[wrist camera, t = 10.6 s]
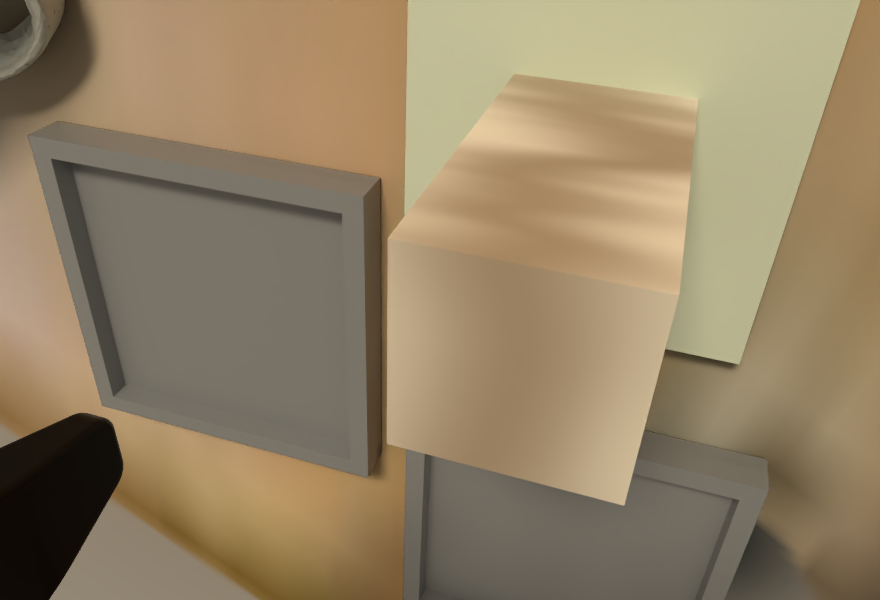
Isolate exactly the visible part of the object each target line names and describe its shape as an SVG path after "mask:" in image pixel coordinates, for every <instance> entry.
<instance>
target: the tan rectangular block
mask: <svg viewBox="0 0 880 600" xmlns="http://www.w3.org/2000/svg"><path fill="white" fill-rule="evenodd" d="M698 100H699V99H694V98H687V97H680V96H672V95H665V94H658V93H651V92H644V91H636V90H629V89H622V88H615V87H607V86H600V85H593V84H586V83H579V82H571V81H564V80H557V79H550V78H542V77H535V76H528V75H521V74H514V75H513V76H512V78H511V79H510V80H509V81H508V83H507V84H506V85H505V87H504V88H503V89H502V91H501V92H500V93H499V94H498V96H497V97H496V98H495V100H494V101H493V102H492V104H491V105H490V106H489V107H488V109H487V110H486V111H485V113H484V114H483V115H482V117H481V118H480V119H479V120H478V122H477V123H476V124H475V126H474V127H473V128H472V130H471V131H470V132H469V133H468V135H467V136H466V137H465V139H464V140H463V141H462V142H461V144H460V145H459V146H458V148H457V149H456V150H455V152H454V153H453V154H452V155H451V157H450V158H449V159H448V161H447V162H446V163H445V165H444V166H443V167H442V168H441V170H440V171H439V172H438V174H437V175H436V176H435V178H434V179H433V180H432V181H431V183H430V184H429V185H428V187H427V188H426V189H425V191H424V192H423V193H422V194H421V196H420V197H419V198H418V200H417V201H416V202H415V204H414V205H413V206H412V207H411V209H410V210H409V211H408V213H407V214H406V215H405V217H404V218H403V219H402V220H401V222H400V223H399V224H398V226H397V227H396V228H395V230H394V231H393V232H392V233H391V235H390V236H389V237H388V299H387V444H389V445H393V446H397V447H401V448H405V449H409V450H412V451H416V452H420V453H424V454H428V455H432V456H435V457H439V458H443V459H447V460H451V461H455V462H458V463H462V464H466V465H470V466H474V467H478V468H481V469H485V470H489V471H493V472H497V473H501V474H505V475H508V476H512V477H516V478H520V479H524V480H528V481H531V482H535V483H539V484H543V485H547V486H551V487H554V488H558V489H562V490H566V491H570V492H574V493H577V494H581V495H585V496H589V497H593V498H597V499H600V500H604V501H608V502H612V503H616V504H620V505H623V506H624V505H625V501H626V497H627V493H628V489H629V486H630V482H631V478H632V474H633V470H634V466H635V463H636V459H637V455H638V451H639V447H640V444H641V440H642V436H643V432H644V428H645V424H646V421H647V417H648V413H649V409H650V405H651V402H652V398H653V394H654V390H655V386H656V382H657V379H658V375H659V371H660V367H661V363H662V360H663V356H664V352H665V348H666V344H667V340H668V337H669V333H670V329H671V325H672V321H673V317H674V314H675V310H676V306H677V302H678V298H679V293H680V283H681V273H682V263H683V253H684V242H685V232H686V222H687V212H688V202H689V192H690V181H691V171H692V161H693V151H694V141H695V130H696V120H697V110H698Z"/></svg>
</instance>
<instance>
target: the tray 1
mask: <svg viewBox="0 0 880 600" xmlns="http://www.w3.org/2000/svg"><path fill="white" fill-rule="evenodd" d="M28 138H29V142H30V145H31V149H32V152H33V156H34V160H35V163H36V167H37V171H38V174H39V178H40V182H41V185H42V189H43V192H44V196H45V200H46V203H47V207H48V211H49V214H50V218H51V222H52V225H53V229H54V232H55V236H56V240H57V243H58V247H59V251H60V254H61V258H62V262H63V265H64V269H65V273H66V276H67V280H68V283H69V287H70V291H71V294H72V298H73V302H74V305H75V309H76V313H77V316H78V320H79V323H80V327H81V331H82V334H83V338H84V342H85V345H86V349H87V353H88V356H89V360H90V363H91V367H92V371H93V374H94V378H95V382H96V385H97V389H98V393H99V396H100V400H101V403H102V406H105V407H108V408H112V409H116V410H119V411H123V412H127V413H130V414H134V415H138V416H142V417H145V418H149V419H153V420H156V421H160V422H164V423H167V424H171V425H175V426H178V427H182V428H186V429H189V430H193V431H197V432H200V433H204V434H208V435H211V436H215V437H219V438H222V439H226V440H230V441H233V442H237V443H241V444H244V445H248V446H252V447H255V448H259V449H263V450H267V451H270V452H274V453H278V454H281V455H285V456H289V457H292V458H296V459H300V460H303V461H307V462H311V463H314V464H318V465H322V466H325V467H329V468H333V469H336V470H340V471H344V472H347V473H351V474H355V475H358V476H362V477H366V478H368V477H369V475H370V473H371V471H372V470H373V468H374V466H375V464H376V462H377V460H378V458H379V456H380V454H381V200H380V178H379V177H373V176H367V175H362V174H356V173H350V172H345V171H339V170H333V169H328V168H322V167H316V166H310V165H305V164H299V163H293V162H288V161H282V160H276V159H271V158H265V157H259V156H254V155H248V154H242V153H237V152H231V151H225V150H219V149H214V148H208V147H202V146H197V145H191V144H185V143H180V142H174V141H168V140H163V139H157V138H151V137H146V136H140V135H134V134H128V133H123V132H117V131H111V130H106V129H100V128H94V127H89V126H83V125H77V124H72V123H66V122H60V121H56V122H54V123H52V124H50V125H48V126H46V127H44V128H42V129H40V130H38V131H36V132H34V133H32V134H30V135H28Z"/></svg>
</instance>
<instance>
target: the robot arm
mask: <svg viewBox="0 0 880 600" xmlns="http://www.w3.org/2000/svg"><path fill="white" fill-rule="evenodd" d="M122 472H123V459H122V455H121V452H120V448H119V444H118V441H117V437H116V433H115V429H114V426H113V424H112V423H111V422H110V421H109V420H108V419H106V418H103V417H99V416H95V415H92V414H88V413H78V414H74V415H72V416H69V417H67V418H65V419H63V420H61V421H58V422H56V423H54V424H52V425H50V426H47V427H45V428H43V429H41V430H39V431H36V432H34V433H32V434H30V435H28V436H25V437H23V438H21V439H19V440H17V441H15V442H12V443H10V444H8V445H6V446H3V447H1V448H0V600H49V599H50V597H51V596H52V594H53V593H54V591H55V590H56V589H57V587H58V586H59V584H60V583H61V581H62V579H63V578H64V576H65V574H66V573H67V571H68V570H69V568H70V566H71V565H72V563H73V561H74V559H75V558H76V556H77V554H78V552H79V551H80V549H81V547H82V545H83V544H84V542H85V540H86V539H87V536H88V535H89V533H90V531H91V530H92V528H93V526H94V524H95V523H96V521H97V519H98V518H99V516H100V514H101V512H102V511H103V509H104V507H105V506H106V503H107V502H108V500H109V499H110V497H111V495H112V493H113V492H114V490H115V488H116V486H117V485H118V483H119V481H120V478H121V476H122Z"/></svg>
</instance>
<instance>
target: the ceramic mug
mask: <svg viewBox="0 0 880 600" xmlns="http://www.w3.org/2000/svg"><path fill="white" fill-rule="evenodd" d="M25 3H26V6H27V8H28V10H29V12H30V14H29V15H28V16H27V17H26V18H25V19H24V20H23V21H22V22H21V23H20V24H19V25H18V26H17V27H15V28H14V29H13V30H11V31H10V32H4V33H0V81H2V80H5V79H7V78H10V77H13V76H15V75H18V74H19V73H21V72H22V71H23V70H25V69H26V68H28V67H29V66H30V65H32V64H33V63H34V62H35V61H36V59H37V58H38V57H39V56H40V55H41V54H42V53H43V51H44V50H45V48H46V46H47V44H48V43H49V41H50V39H51V38H52V36H53V34H54V33H55V31H56V30H57V28H58V25H59V23H60V21H61V19H62V16H63V14H64V5H65V0H25Z"/></svg>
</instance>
